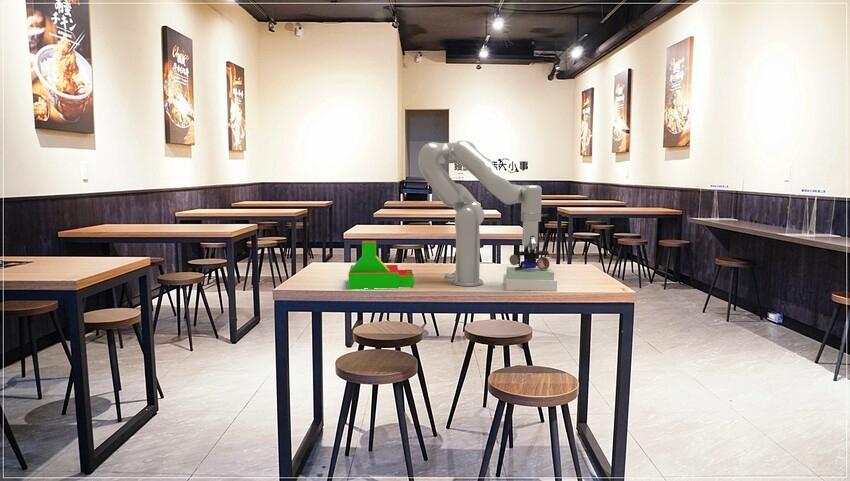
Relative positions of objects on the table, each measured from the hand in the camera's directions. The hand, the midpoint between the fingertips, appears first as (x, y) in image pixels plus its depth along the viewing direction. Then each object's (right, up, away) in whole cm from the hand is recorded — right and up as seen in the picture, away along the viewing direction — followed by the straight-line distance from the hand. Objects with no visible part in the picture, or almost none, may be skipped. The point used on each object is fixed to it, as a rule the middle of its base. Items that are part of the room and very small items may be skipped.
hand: (530, 261), depth 226 cm
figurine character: (0, -4, 0) cm, 4 cm away
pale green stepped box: (0, -10, +1) cm, 10 cm away
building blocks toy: (-58, -10, +6) cm, 59 cm away
